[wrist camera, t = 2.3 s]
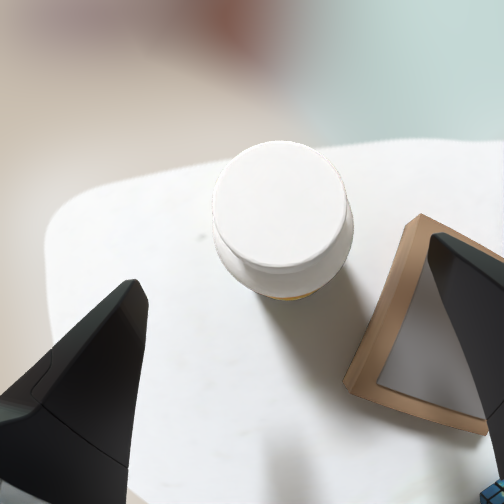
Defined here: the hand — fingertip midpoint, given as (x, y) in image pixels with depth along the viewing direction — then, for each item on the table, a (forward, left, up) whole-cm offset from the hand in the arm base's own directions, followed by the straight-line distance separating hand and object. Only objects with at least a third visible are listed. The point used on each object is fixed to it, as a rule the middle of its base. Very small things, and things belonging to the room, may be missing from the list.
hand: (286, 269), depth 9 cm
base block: (+1, -10, -9) cm, 14 cm away
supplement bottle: (+2, +1, -9) cm, 10 cm away
